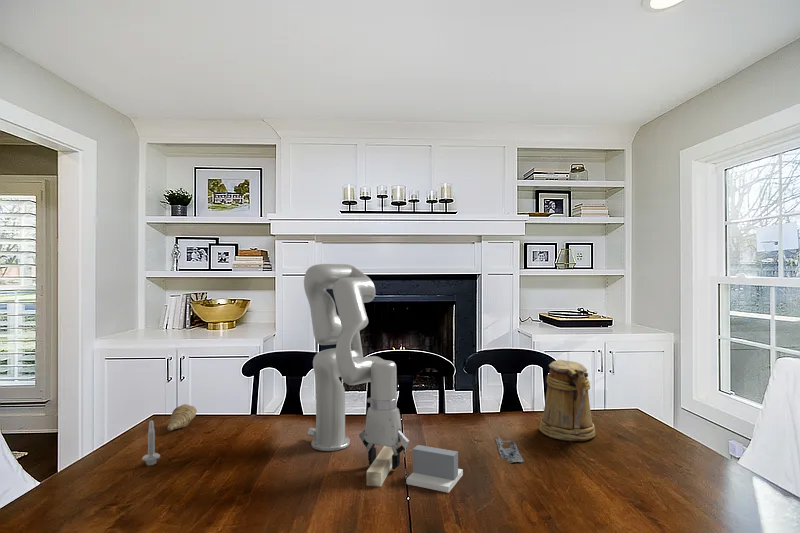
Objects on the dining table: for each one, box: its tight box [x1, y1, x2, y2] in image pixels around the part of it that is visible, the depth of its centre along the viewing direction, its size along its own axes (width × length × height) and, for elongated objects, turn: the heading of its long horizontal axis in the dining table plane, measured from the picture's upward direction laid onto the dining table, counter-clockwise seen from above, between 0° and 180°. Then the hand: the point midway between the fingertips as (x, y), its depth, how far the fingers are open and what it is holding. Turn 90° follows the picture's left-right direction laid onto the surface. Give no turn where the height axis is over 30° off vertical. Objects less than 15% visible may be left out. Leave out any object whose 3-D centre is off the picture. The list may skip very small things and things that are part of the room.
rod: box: [366, 446, 394, 488], centre depth 138 cm, size 4×22×4 cm, turn 168°
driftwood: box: [494, 436, 525, 464], centre depth 152 cm, size 21×7×2 cm, turn 175°
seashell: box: [166, 403, 198, 431], centre depth 174 cm, size 14×8×8 cm, turn 2°
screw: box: [141, 420, 161, 466], centre depth 142 cm, size 13×5×5 cm
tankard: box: [538, 359, 596, 442], centre depth 166 cm, size 18×24×25 cm
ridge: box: [406, 444, 464, 493], centre depth 131 cm, size 12×12×8 cm
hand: (383, 464), depth 138 cm, fingers open, 6 cm apart
